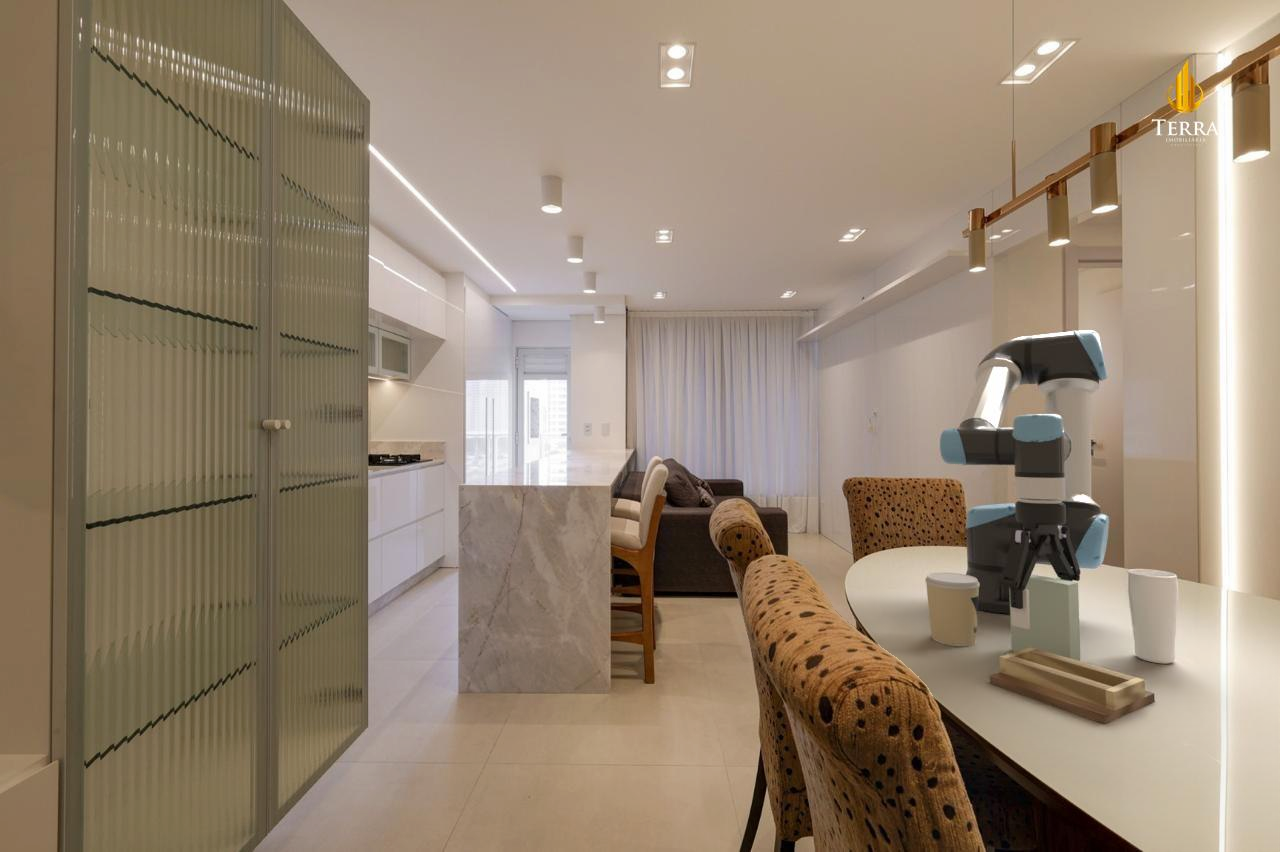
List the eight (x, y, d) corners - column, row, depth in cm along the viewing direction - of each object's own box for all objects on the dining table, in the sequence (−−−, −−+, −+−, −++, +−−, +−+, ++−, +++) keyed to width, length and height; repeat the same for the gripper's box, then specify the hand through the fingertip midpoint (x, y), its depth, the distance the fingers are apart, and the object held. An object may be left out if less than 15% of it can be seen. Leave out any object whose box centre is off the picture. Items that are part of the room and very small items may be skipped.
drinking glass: (1132, 649, 110) (1129, 566, 111) (1182, 658, 106) (1179, 572, 106) (1127, 659, 106) (1124, 573, 106) (1178, 669, 101) (1175, 579, 101)
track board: (1040, 666, 103) (1039, 644, 103) (1154, 701, 89) (1153, 676, 89) (989, 683, 97) (989, 659, 97) (1104, 723, 83) (1103, 696, 83)
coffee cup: (988, 649, 112) (986, 583, 112) (934, 646, 114) (932, 582, 114) (971, 633, 121) (970, 572, 121) (921, 630, 123) (919, 571, 123)
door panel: (1020, 647, 113) (1018, 571, 113) (1080, 664, 104) (1078, 582, 104) (1011, 650, 111) (1008, 573, 111) (1070, 668, 102) (1068, 584, 103)
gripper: (1056, 496, 117) (1059, 607, 116) (975, 502, 106) (979, 626, 105) (1100, 499, 111) (1104, 616, 110) (1019, 506, 99) (1023, 638, 98)
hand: (1043, 621), depth 107 cm, fingers open, 13 cm apart
